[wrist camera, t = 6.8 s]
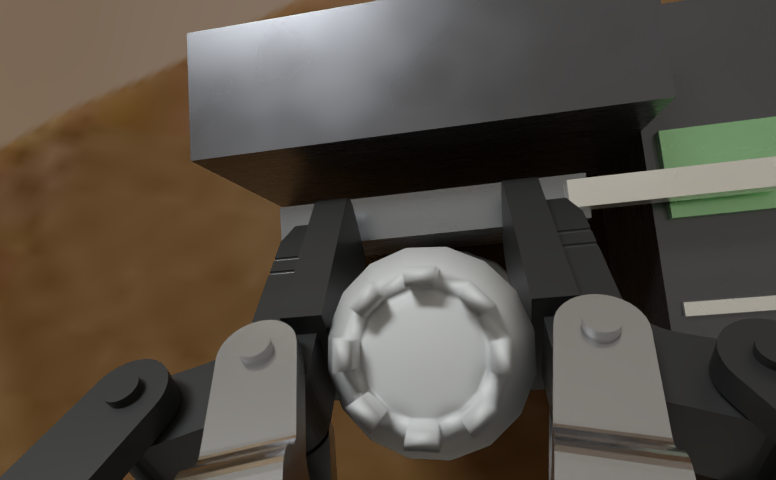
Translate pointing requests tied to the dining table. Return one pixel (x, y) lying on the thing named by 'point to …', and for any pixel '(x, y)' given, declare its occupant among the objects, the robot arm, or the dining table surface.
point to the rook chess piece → (432, 352)
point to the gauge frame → (515, 121)
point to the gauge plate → (484, 204)
